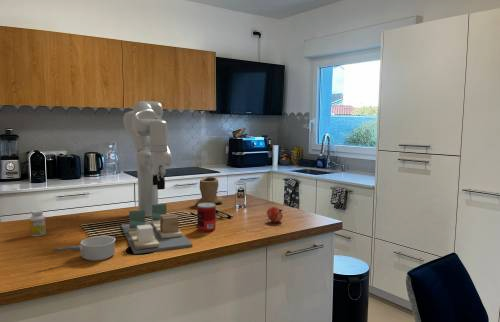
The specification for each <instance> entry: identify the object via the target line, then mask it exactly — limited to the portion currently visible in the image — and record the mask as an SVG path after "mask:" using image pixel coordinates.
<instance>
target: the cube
mask: <svg viewBox="0 0 500 322" xmlns="http://www.w3.org/2000/svg"><path fill="white" fill-rule="evenodd" d="M160 230H161V231H162V232H163V234H164V233H173V232H179V230H180V228H179V216H178V215H177V214H175V213H166V215H160Z"/></svg>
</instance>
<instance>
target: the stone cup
mask: <svg viewBox="0 0 500 322" xmlns="http://www.w3.org/2000/svg"><path fill="white" fill-rule="evenodd" d="M219 185H220V183H219V180H218V178H217V177H215V176H206V177H202V178H201V179H200V181H199V190H200V191H199V192H200V194H201V198H198V199H196V203H197V204H200V203H214V204H219V203H223V202H224V200H223V198H222V196H221V195H217V194H218V189H219Z"/></svg>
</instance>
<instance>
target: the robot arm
mask: <svg viewBox="0 0 500 322" xmlns="http://www.w3.org/2000/svg"><path fill="white" fill-rule="evenodd" d="M163 112H164V109H163V105H162V104H161V103H160V102H159V101H152V100H151V101H149V100H141V101H136V102H135V103H134V104H133V106H132V110H131V111H127V112H126V113H124V115H123V125H124V128H125V130H126V131H125V132H126V133H127V134H128V136H129V138H130V139H131V141H132V144H133V147H134V150H135V153H136V154H135V157H134V158H135V164H136V165H135V166H136V171H137V173H136V174H137V203H138V204H137V205H138V207H137V208H138V209H137V210H136V211H139V210H145V218H148V217H151V218H152V204H159V190H165V189H166V186H165V185H166V179H165V177H166V176H165V175H166V169H169V168H171V167H172V165H173V162H174V161H173V155H172V152H171V150H170V148H169V145H168V123H167V121H166V120H164V119H162V117H163V115H164V114H163Z"/></svg>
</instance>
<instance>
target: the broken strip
mask: <svg viewBox="0 0 500 322" xmlns="http://www.w3.org/2000/svg"><path fill="white" fill-rule="evenodd" d="M128 213H129V214H128V216H129V217H128V218H129V223H128V224H130V229H128V233H129V235H130V236H131V239H132V241H133V243H134V245H135V247H136V249H145V248H152V247H159V242H158V241H157V239H156V238H155V237H154V235H153V241H150V242H141V243H139V241H138V240H137V226H139V225H145V222H146V217H145V210H139V211H137V210H131V211H129V212H128ZM133 235H134V236H133Z"/></svg>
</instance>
